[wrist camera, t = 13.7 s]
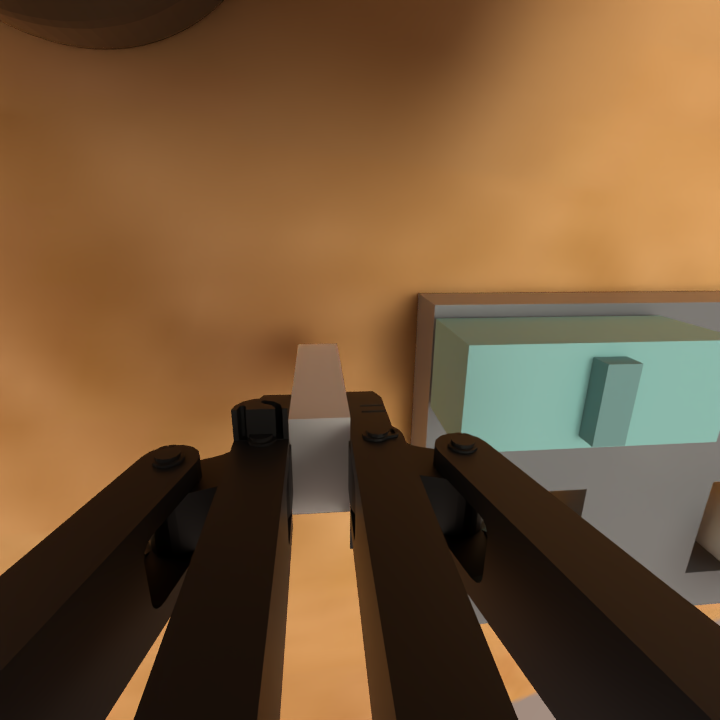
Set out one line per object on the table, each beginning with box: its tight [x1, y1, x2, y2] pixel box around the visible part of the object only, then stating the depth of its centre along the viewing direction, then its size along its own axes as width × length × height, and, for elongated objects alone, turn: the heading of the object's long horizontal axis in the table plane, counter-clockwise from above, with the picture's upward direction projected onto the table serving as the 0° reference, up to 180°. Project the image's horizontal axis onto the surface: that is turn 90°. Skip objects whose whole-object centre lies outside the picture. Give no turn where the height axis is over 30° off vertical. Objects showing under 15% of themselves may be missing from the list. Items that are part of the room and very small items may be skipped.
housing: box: [411, 291, 720, 624], centre depth 22 cm, size 18×24×6 cm
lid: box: [430, 315, 720, 452], centre depth 17 cm, size 4×10×5 cm, turn 89°
